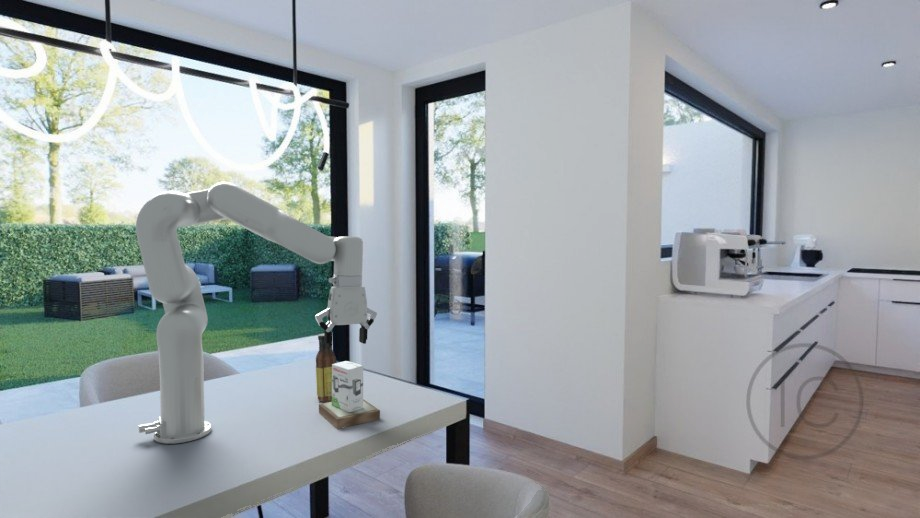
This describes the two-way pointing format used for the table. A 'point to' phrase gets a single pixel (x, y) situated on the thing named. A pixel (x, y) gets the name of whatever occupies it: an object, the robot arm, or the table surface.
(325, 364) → the sauce bottle
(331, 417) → the wooden tray
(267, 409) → the table surface
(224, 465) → the table surface
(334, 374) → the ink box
